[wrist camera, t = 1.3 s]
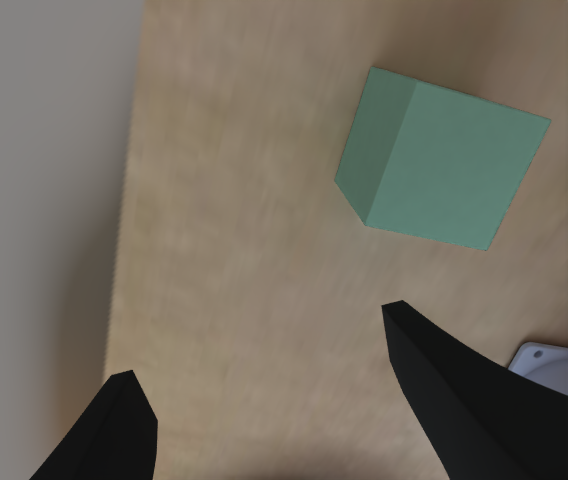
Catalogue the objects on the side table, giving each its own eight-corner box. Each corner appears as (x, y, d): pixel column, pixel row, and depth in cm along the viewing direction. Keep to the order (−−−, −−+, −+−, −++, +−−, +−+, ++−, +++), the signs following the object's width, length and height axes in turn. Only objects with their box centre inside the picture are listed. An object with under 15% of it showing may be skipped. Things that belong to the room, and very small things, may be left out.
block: (477, 97, 20) (552, 120, 15) (432, 203, 22) (487, 251, 17) (371, 65, 19) (417, 80, 14) (333, 180, 20) (364, 226, 16)
